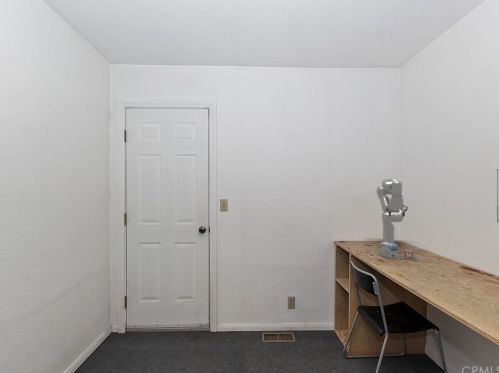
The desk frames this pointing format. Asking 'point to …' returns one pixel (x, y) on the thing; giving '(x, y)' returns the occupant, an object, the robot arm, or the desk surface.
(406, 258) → the blue-gray flat panel
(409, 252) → the reddish brown cube
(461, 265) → the desk surface
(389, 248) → the light bulb box
